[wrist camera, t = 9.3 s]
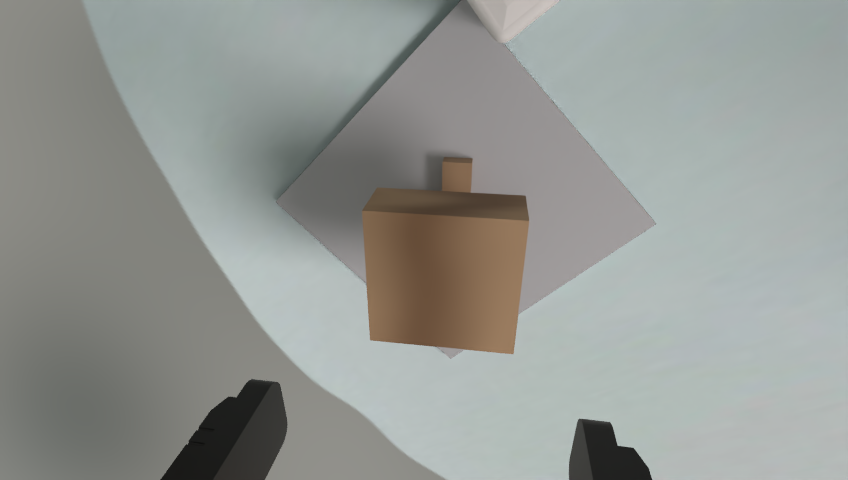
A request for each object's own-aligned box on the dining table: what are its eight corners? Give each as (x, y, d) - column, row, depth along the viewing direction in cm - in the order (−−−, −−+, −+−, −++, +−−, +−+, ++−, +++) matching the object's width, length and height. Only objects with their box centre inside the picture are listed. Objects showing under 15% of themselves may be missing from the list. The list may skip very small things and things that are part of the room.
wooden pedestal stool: (520, 160, 22) (529, 221, 16) (509, 267, 25) (513, 354, 19) (398, 154, 23) (361, 210, 17) (400, 259, 26) (370, 340, 19)
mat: (653, 220, 23) (656, 224, 23) (451, 354, 29) (450, 358, 28) (464, -3, 20) (463, -3, 19) (278, 199, 25) (275, 202, 25)
